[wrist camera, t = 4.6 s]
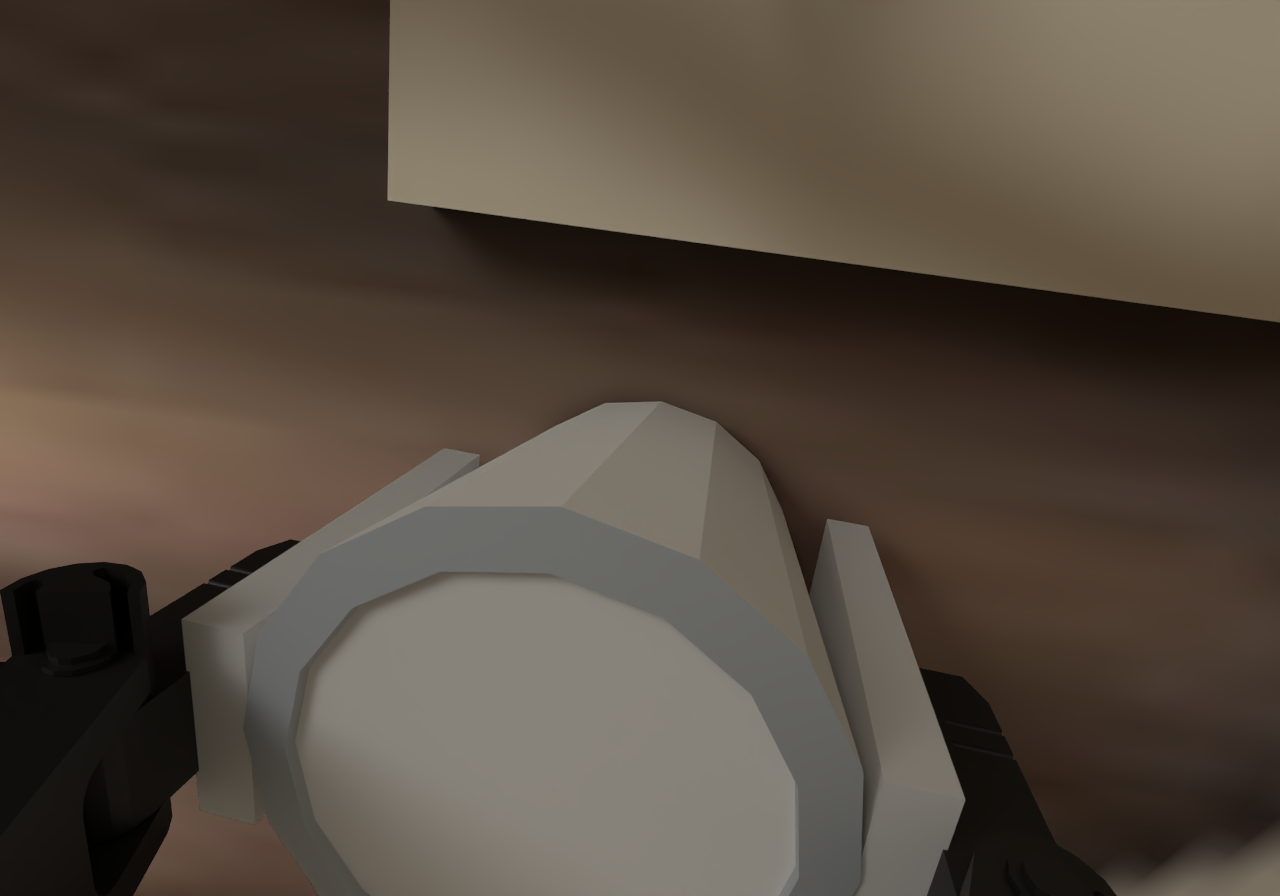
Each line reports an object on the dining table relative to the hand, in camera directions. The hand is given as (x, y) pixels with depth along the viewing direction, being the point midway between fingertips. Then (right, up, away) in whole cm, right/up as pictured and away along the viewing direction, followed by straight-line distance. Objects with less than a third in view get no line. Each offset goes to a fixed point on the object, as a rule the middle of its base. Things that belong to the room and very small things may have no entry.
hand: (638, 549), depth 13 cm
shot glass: (0, 0, 0) cm, 1 cm away
